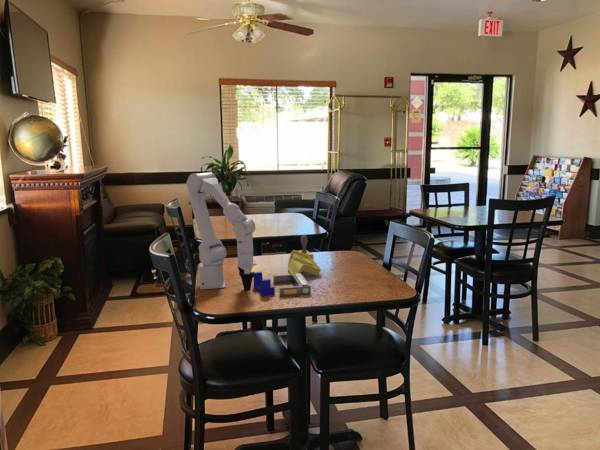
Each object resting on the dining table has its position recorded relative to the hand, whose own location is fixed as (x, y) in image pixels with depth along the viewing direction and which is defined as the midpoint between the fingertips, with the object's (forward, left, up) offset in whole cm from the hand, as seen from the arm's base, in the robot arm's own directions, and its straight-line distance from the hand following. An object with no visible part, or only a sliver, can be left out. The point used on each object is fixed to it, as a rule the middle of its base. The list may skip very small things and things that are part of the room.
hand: (246, 287), depth 181 cm
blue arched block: (+6, 0, -2) cm, 7 cm away
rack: (+16, 0, -2) cm, 16 cm away
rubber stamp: (+30, +41, -2) cm, 51 cm away
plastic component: (+26, +22, -2) cm, 35 cm away
